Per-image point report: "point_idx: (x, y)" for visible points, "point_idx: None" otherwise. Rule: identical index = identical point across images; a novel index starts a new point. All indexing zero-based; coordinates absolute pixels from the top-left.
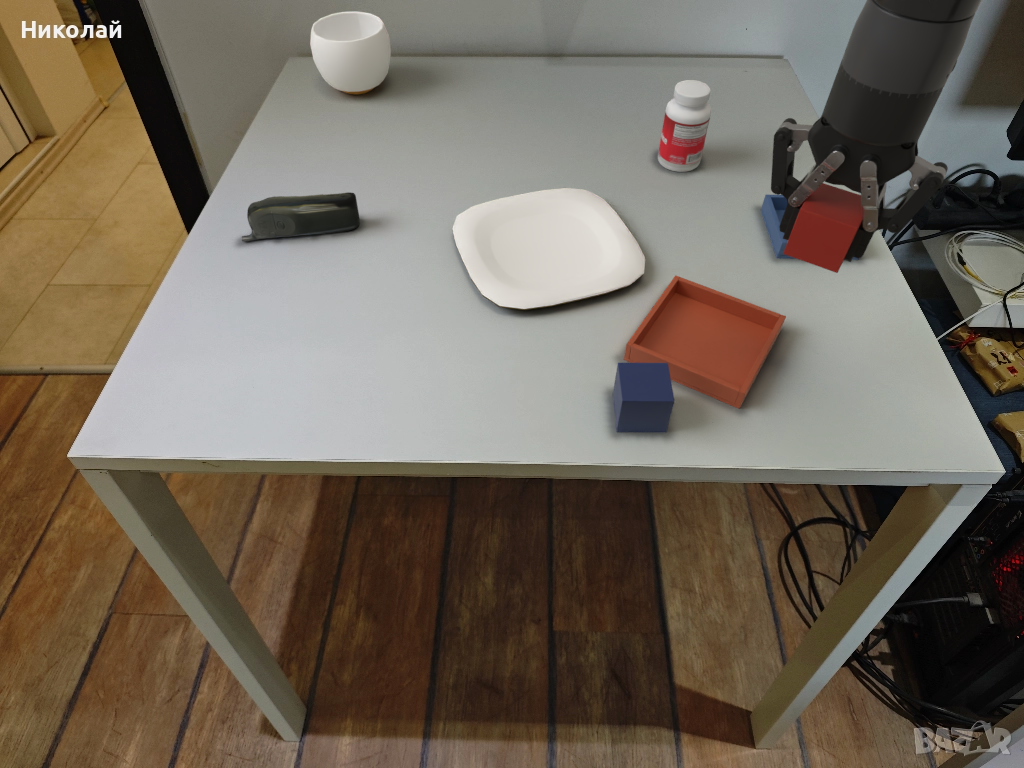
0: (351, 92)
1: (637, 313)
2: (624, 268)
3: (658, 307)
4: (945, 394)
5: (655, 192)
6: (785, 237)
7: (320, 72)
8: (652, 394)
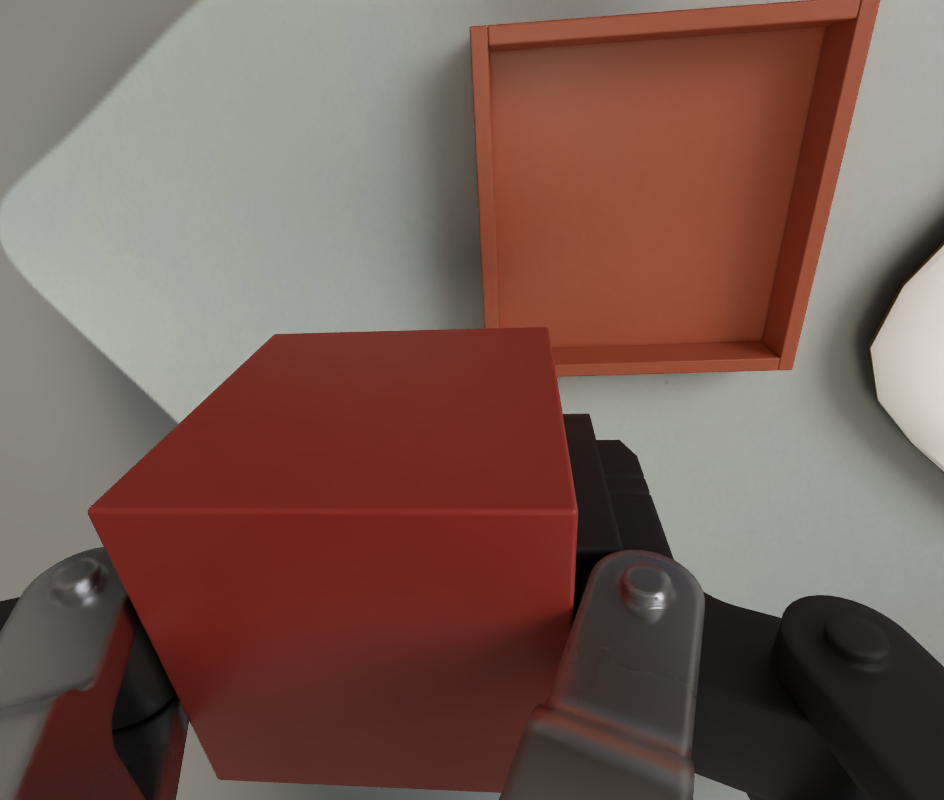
0: None
1: (839, 222)
2: (934, 333)
3: (811, 224)
4: (146, 370)
5: (881, 609)
6: (577, 416)
7: None
8: None
